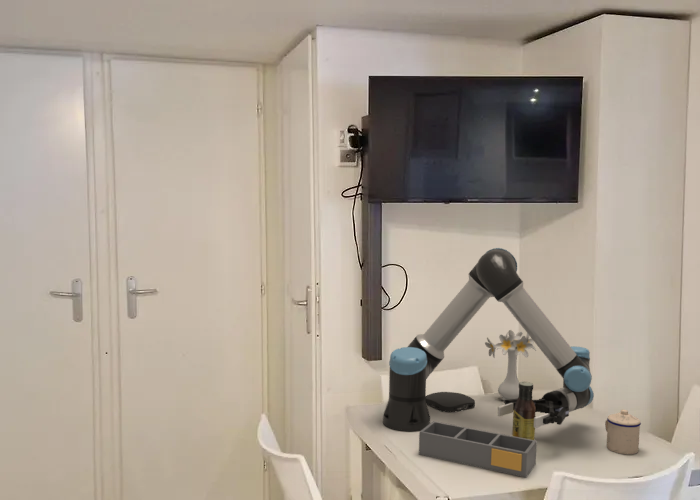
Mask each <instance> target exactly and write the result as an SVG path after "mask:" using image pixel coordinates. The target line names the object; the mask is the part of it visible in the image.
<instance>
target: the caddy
mask: <svg viewBox="0 0 700 500" xmlns="http://www.w3.org/2000/svg"><path fill="white" fill-rule="evenodd" d="M418 434H419V435H418V438H419V441H418V455H420V456H425V457H429V458H433V459H440V460H442V461H443V460H444V461H448V462H452V463H457V464H462V465H468V466H471V467H476V468H479V469H485V470H490V471H494V472H499V473H503V474H508V475H512V476H517V477H522V478H528V476H529V474H530V472H531V471H532V470H533V469H534V467H535V465H536V463H537V446H538V445H537V443H538V442H537V440H536V439H534V440H531V439H525V438H520V437H515V436H512V435H509V434H503V433H497V432H493V431H488V430H487V431H486V430H482V429H477V428H473V427H467V426H463V425H462V426H461V425H457V424H456V425H455V424H449V423H445V422H440V421H435V420H433V421H430V424H429V425H428V426H426V427H425V428H424V429H422V430H419V433H418Z"/></svg>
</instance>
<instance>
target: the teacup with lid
mask: <svg viewBox="0 0 700 500" xmlns="http://www.w3.org/2000/svg"><path fill="white" fill-rule="evenodd" d="M604 423H605V424H604V425H605V431H606V433H607V434H606V436H607V437H606V448H607V449H608V450H609V451H611V452H613V453H616V454H621V455H634V454H637V453H638V452H639V444H640V428H641V424H642V423H641V420H640V419H639V418H637V416H633V414H630V413H629V411H628V410H627V409H620V412H617V413H612V414H609V415H608V416H607V418H606V420H605V422H604Z"/></svg>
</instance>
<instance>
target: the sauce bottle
mask: <svg viewBox="0 0 700 500" xmlns="http://www.w3.org/2000/svg"><path fill="white" fill-rule="evenodd" d="M533 390H534V384H533V382H531V381H523V380H522V381H519V397H518V399H517V402H516V404H515V406H514V411H513V412H512V414H513V415H512V435H511V436H515V437H520V438H525V439H531V440H535V434H536V428H534V418H535V417H537V416H536V412H535V410H536V407H535V404H534V402H533V400H534V399H533Z"/></svg>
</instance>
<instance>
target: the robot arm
mask: <svg viewBox="0 0 700 500" xmlns="http://www.w3.org/2000/svg"><path fill="white" fill-rule="evenodd" d="M517 271H518V263H517V259H516V257H515V255H513V254H512V252H510V251H508V250H507V249H504V248H500V247H495V248H492V249H491V248H490V249H489V250H487V251H486V252H485V253H484V254H483V255H482V256H480V258H479V259H478V261H477V263H476V264H475V265H474V266H473V267H472V269H471V270H470V271H469V273H468V281H467V282H466V283H465V284H464V286H463V287H462V288H461V289H460V291H458V292H457V294H456V295H455V296H454V298H453V299H452V300H451V301H450V302H449V304H448V305H447V306H446V307H445V309H443V311H442V312H441V313H440V315H439V316H438V317H437V318H436V319H435V321H434V322H433V323H432V324H431V325H430V326H429V327H428V329H427V330H426V331H425V332H424V333H422V334H421V333H420V334H416V336H415V337H414V338H413V340H412V341H411V342H410V343H409V344H408V345H407V346H405V347H400V348H396V349H394V350H393V351H392V352H391V353H390V356H389V362H388V364H389V365H388V366H389V375H388V376H389V379H388V380H389V382H388V383H389V384H388V387H389V388H388V401H387V403H386V406H385V409H384V412H383V414H382V424H383V425H384V426H385V427H387V428H389V429H392V430H395V431H400V432H401V431H403V432H418V431H421V430H422V429H424V428H425V427H426V426H428V425H429V424H430V423H431V416H430V412H429V408H428V405H427V404H426V400H425V396H427V395H426V390H427V389H426V388H427V386H426V385H427V379H428V378H429V376H430V375H432V373H433V372H434V370H435V369H436V368H438V366H439V365H440V363H442V362H443V359H444V358H445V350H447V348H448V347H449V345H451V343H452V342H453V340H455V338H457V336H458V335H459V333H461V332H462V330H463V329H464V328H465V327H466V326H467V324H468V323H469V322H470V321H471V320H472V319H473V318H474V316H476V314H477V313H478V312H479V311H480V309H481V308H482V307H483V306H484V305H485V304H486V302H487V301H488V300H490V299H489V298H494V299H495V300H496V302H498V303H502V304H504V306H505V307H506V308H507V309H508V311H509V312H510V313H511V315H512V317H514V318H515V319H516V321H517V322H518V323H519V325H520V326H521V327H522V328H523V330H524V331H525V333H526V334H527V333H528V334H529V338H530V339H533V341H534V343H535V344H536V346H537V347H538V348H539V349H540V351H541V352H542V353H543V354H544V356H545V357H546V358H547V360H548V361H549V362H550V363H551V364H552V366H553V367H554V368H555V370H556V372H557V373H558V374H559V375H560V376H561V378H562V379H563V381H562V387H561V388H557V389H555V390H552V391H548V392H546V393H545V394H543V395H542V396H541V398H539V399H532V400H533V402H534V404H535V407H536V410H535V413H543V414H542V415H538V416H536V417H535V418H534V428H535V429H538V428H540V427H543V426H545V425H549V424H555V423H556V425H562V424H563V422H564V420H565V419H566V418H567V417H569V416H570V414H569V413H572V412H573V411H577V410H579V409H583V408H585V407H587V406H589V405H590V404H591V403H592V402H593V400H594V396H595V394H594V391H593V388H592V387H591V383H592V379H593V378H592V374H591V368H590V367H591V366H590V363H591V362H590V360H591V358H590V357H591V356H590V353H591V352H590V350H589V349H588V348H586V347H583V346H570V344H569V343H568V341H566V339H565V338H564V337H563V336H562V334H561V333H560V332H559V330H558V329H557V328H556V326H555V325H554V324H553V323H552V321H550V319H549V318H548V317H547V315H546V314H545V313H544V311H542V309H541V308H540V307H539V306H538V304H537V303H536V301H534V299H533V298H532V297H531V295H530V294H529V293H528V292H527V291H526V289H525V288H524V281H523V280H522V278H520V276H519V274H518V273H517ZM516 402H517V399H509V400H505V401H504V404H503V405H499V406H497V417H500V418H501V417H503V416H506V415H509V414H513V411H514V406H515V404H516Z"/></svg>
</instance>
